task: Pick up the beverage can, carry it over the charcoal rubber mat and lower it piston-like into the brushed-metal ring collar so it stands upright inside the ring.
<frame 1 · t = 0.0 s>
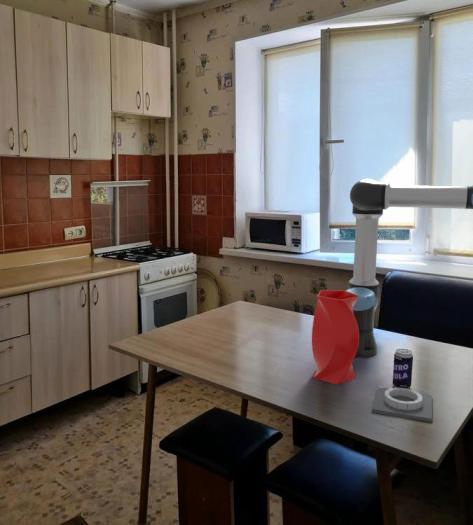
beverage can: (401, 387, 161), on the table
vase: (335, 376, 170), on the table
ring seat: (402, 404, 149), on the table
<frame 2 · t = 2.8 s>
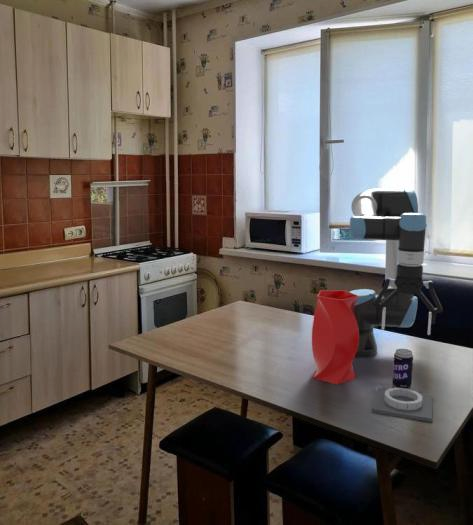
hand: (405, 331, 158), 19 cm above the table, fingers open, 13 cm apart
nothing on the table moved.
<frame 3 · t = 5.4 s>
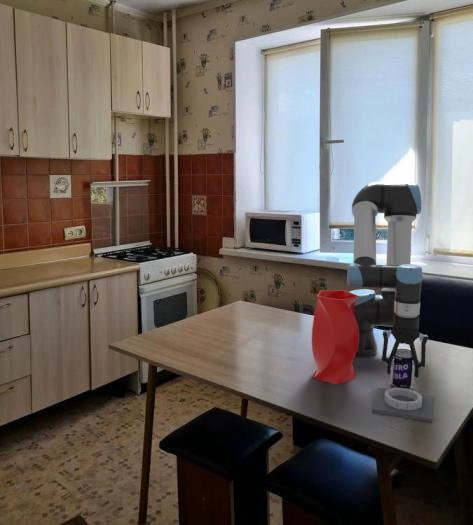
hand: (401, 384, 161), 1 cm above the table, fingers closed on beverage can, 6 cm apart
beverage can: (401, 387, 161), on the table, touching gripper
everything else where it was.
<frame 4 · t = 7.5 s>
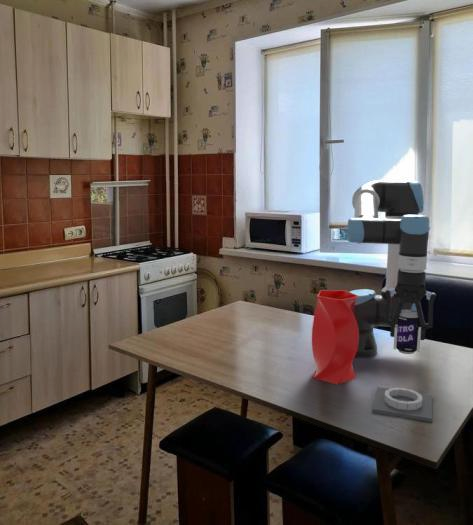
hand: (406, 348, 146), 17 cm above the table, fingers closed on beverage can, 6 cm apart
beverage can: (406, 352, 146), point 16 cm above the table, touching gripper
everything else where it was.
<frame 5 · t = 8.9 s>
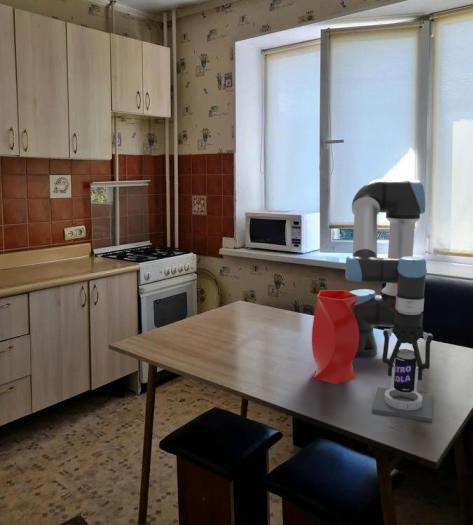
hand: (403, 387, 148), 5 cm above the table, fingers closed on beverage can, 6 cm apart
beverage can: (403, 391, 148), point 4 cm above the table, touching gripper
everything else where it was.
when the fingers open (4 cm above the table, at t = 9.9 s): beverage can drops 2 cm, resting on ring seat.
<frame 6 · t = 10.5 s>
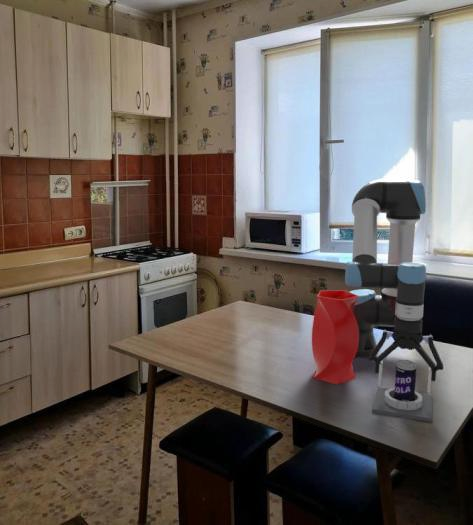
hand: (403, 387, 148), 6 cm above the table, fingers open, 13 cm apart
beverage can: (403, 402, 149), point 1 cm above the table, touching ring seat
everything else where it was.
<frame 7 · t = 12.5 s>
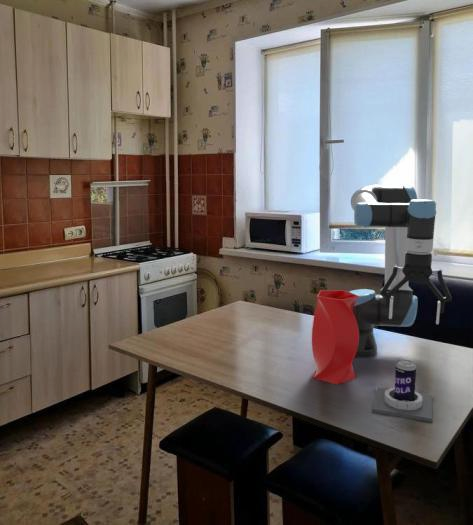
hand: (413, 320, 155), 23 cm above the table, fingers open, 13 cm apart
nothing on the table moved.
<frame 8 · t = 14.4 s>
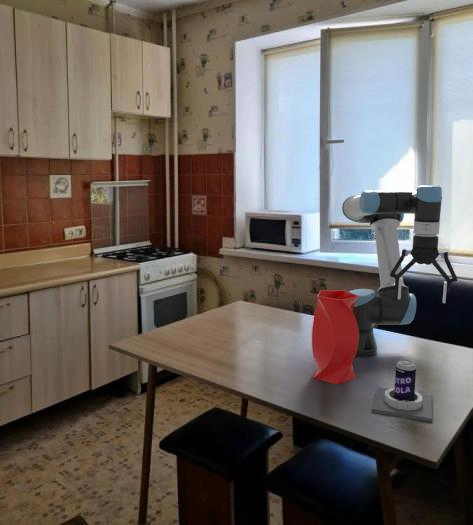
hand: (421, 300, 163), 27 cm above the table, fingers open, 13 cm apart
nothing on the table moved.
at the end: beverage can 0.2 cm from the ring seat (horizontally); beverage can point 0.8 cm above the table; beverage can tilted 0° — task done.
